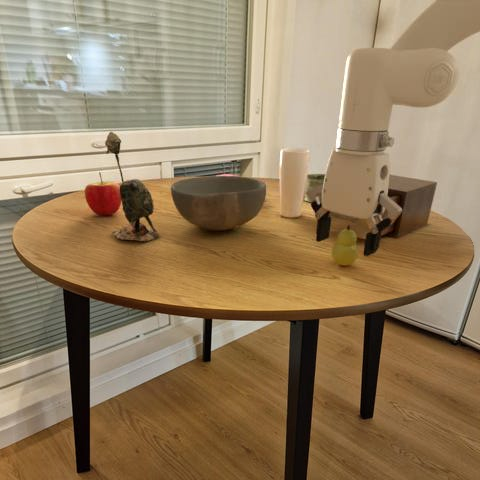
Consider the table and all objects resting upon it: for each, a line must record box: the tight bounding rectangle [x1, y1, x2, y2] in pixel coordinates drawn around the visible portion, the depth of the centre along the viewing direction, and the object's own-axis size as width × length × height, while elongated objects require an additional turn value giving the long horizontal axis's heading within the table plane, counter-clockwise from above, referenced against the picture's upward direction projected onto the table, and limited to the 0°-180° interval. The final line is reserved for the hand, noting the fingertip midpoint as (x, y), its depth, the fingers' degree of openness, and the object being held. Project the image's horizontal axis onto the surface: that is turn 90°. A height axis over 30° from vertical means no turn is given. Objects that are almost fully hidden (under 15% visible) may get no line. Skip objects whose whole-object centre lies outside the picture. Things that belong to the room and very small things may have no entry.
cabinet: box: [384, 174, 438, 239], centre depth 96 cm, size 15×13×10 cm
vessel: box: [303, 173, 326, 203], centre depth 117 cm, size 12×9×6 cm
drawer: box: [329, 193, 402, 240], centre depth 89 cm, size 18×11×8 cm, turn 135°
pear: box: [331, 225, 359, 267], centre depth 74 cm, size 5×5×7 cm
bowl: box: [170, 175, 267, 232], centre depth 91 cm, size 20×20×10 cm
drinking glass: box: [278, 147, 311, 219], centre depth 100 cm, size 7×7×15 cm
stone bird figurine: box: [104, 131, 159, 242], centre depth 82 cm, size 8×11×20 cm
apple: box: [84, 172, 122, 217], centre depth 99 cm, size 8×8×10 cm
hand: (345, 246), depth 75 cm, fingers open, 9 cm apart
